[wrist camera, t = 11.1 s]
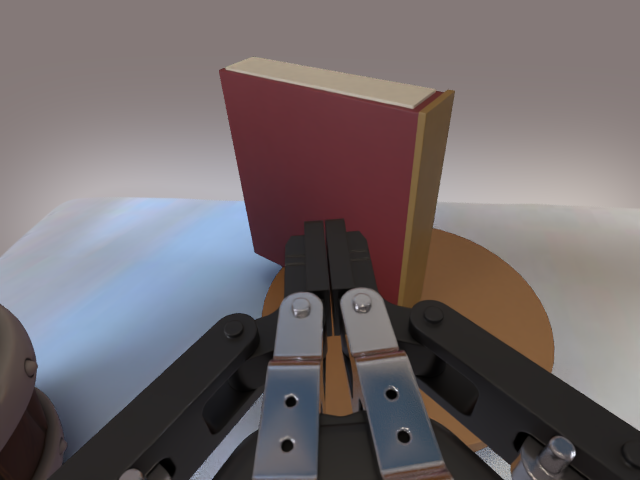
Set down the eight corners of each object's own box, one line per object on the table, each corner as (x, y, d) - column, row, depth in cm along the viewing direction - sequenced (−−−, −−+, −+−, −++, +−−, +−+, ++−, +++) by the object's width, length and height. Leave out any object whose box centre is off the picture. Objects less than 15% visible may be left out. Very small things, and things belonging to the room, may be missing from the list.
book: (577, 290, 31) (690, 69, 21) (489, 549, 19) (654, 328, 9) (330, 199, 42) (324, 26, 32) (175, 326, 30) (85, 114, 20)
